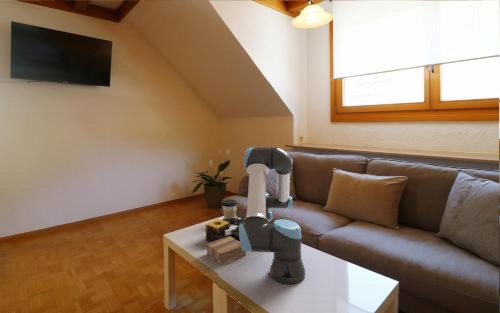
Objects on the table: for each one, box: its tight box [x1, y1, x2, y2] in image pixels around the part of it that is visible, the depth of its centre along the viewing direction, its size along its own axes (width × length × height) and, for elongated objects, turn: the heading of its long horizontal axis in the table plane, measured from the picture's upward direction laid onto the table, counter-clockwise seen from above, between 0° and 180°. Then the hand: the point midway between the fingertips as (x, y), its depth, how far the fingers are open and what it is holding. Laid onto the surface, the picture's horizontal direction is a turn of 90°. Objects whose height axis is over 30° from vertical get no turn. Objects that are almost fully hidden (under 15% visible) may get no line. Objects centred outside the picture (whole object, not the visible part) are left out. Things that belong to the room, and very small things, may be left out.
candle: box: [205, 218, 231, 243], centre depth 152 cm, size 10×10×10 cm
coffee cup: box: [222, 199, 238, 219], centre depth 176 cm, size 10×10×15 cm
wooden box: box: [206, 235, 247, 266], centre depth 135 cm, size 14×14×6 cm
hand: (219, 229), depth 154 cm, fingers open, 13 cm apart
